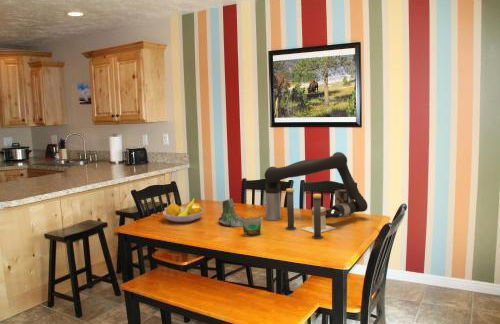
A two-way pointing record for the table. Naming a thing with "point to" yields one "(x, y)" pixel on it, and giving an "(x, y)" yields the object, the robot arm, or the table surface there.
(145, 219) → the table surface
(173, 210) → the fruit bowl
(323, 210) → the carton
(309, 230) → the mat
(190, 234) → the table surface
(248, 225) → the food container
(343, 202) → the coffee box
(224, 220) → the tree stump
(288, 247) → the table surface
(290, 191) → the gate
